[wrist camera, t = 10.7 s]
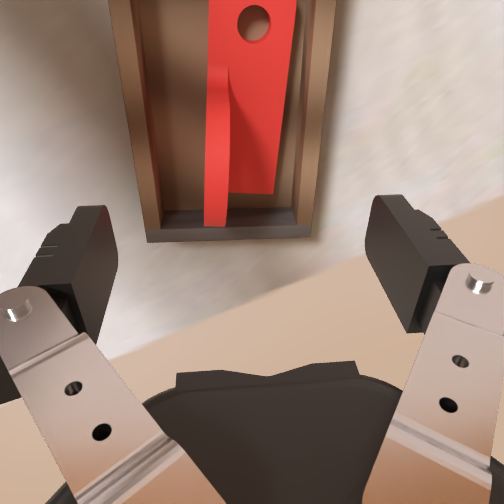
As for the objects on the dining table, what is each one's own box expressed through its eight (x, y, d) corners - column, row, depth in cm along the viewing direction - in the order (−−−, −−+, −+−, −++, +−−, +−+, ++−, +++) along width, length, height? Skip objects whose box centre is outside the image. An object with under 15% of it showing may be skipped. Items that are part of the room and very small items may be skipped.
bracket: (270, 186, 29) (288, 252, 22) (205, 184, 28) (203, 250, 22) (295, -20, 22) (330, -12, 15) (209, -28, 21) (208, -24, 15)
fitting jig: (108, -81, 20) (94, -87, 18) (329, -76, 21) (345, -81, 19) (152, 219, 30) (147, 242, 28) (302, 215, 31) (310, 237, 28)
